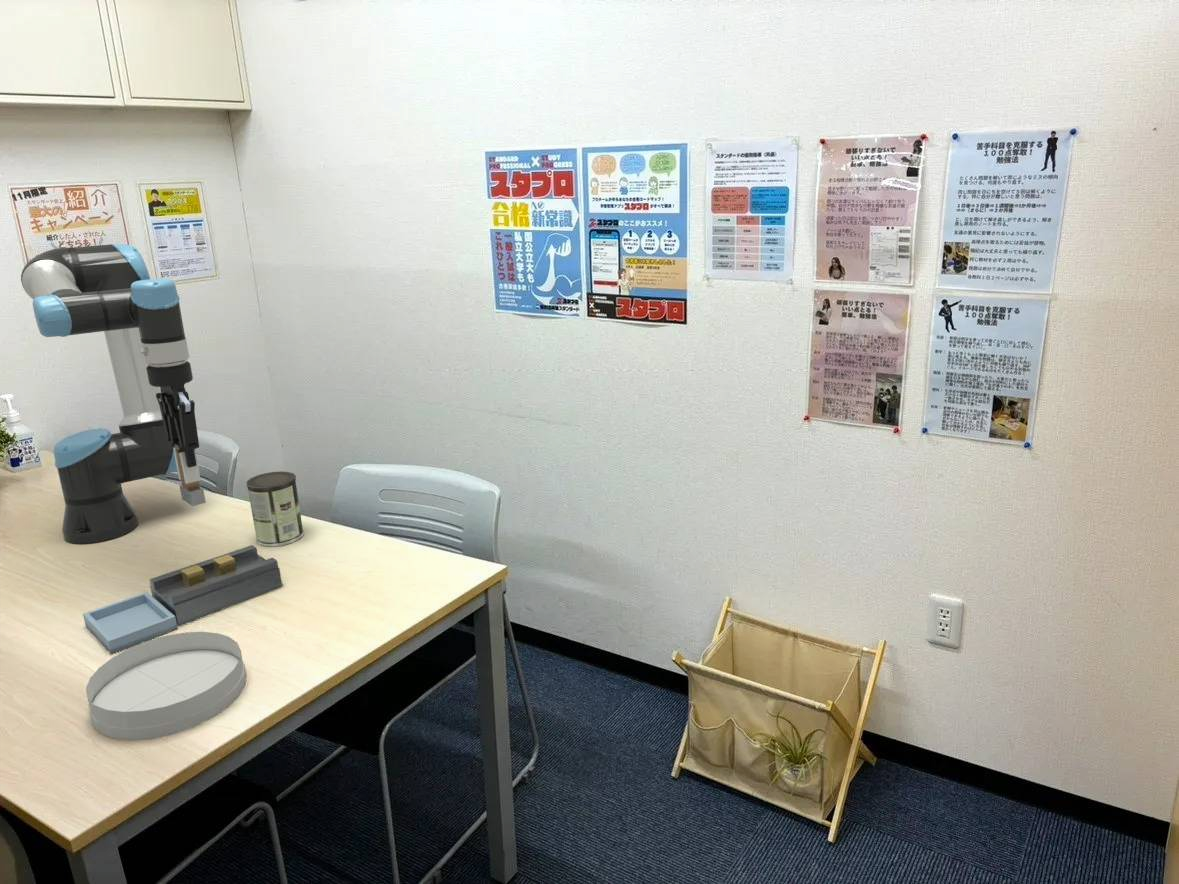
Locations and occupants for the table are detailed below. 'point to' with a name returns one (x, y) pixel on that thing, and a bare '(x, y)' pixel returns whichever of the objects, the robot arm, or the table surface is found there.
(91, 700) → the dish
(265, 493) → the coffee can
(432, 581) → the table surface
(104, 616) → the tray
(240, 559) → the slot bed
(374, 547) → the table surface
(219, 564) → the yellow cube
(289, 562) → the table surface
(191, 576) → the yellow wooden cube
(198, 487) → the hammer
